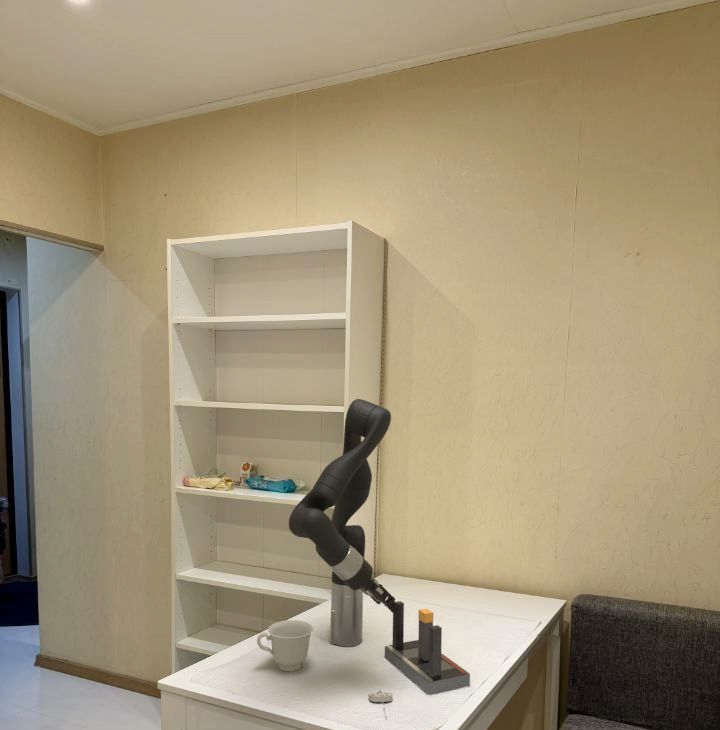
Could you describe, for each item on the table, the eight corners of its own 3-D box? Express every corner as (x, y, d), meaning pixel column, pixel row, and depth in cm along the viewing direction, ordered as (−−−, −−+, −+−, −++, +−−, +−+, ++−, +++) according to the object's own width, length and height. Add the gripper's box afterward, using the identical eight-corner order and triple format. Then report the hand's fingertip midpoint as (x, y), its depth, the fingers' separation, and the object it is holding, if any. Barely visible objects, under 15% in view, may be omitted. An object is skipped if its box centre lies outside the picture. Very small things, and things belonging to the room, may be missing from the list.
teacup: (252, 661, 169) (252, 624, 169) (305, 654, 174) (306, 617, 174) (261, 681, 157) (262, 641, 158) (318, 673, 163) (319, 634, 163)
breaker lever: (424, 661, 163) (425, 613, 163) (418, 656, 166) (418, 609, 166) (432, 659, 164) (433, 612, 164) (426, 654, 167) (426, 608, 167)
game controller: (386, 693, 153) (387, 683, 153) (408, 717, 143) (409, 706, 143) (365, 697, 151) (365, 686, 151) (386, 722, 140) (386, 710, 140)
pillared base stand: (428, 695, 152) (429, 632, 152) (384, 657, 173) (385, 601, 173) (469, 685, 157) (470, 624, 158) (422, 650, 178) (422, 596, 178)
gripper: (373, 561, 151) (413, 602, 156) (347, 547, 163) (384, 586, 168) (353, 586, 148) (394, 628, 153) (328, 570, 161) (366, 609, 166)
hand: (389, 606), depth 161 cm, fingers open, 8 cm apart
